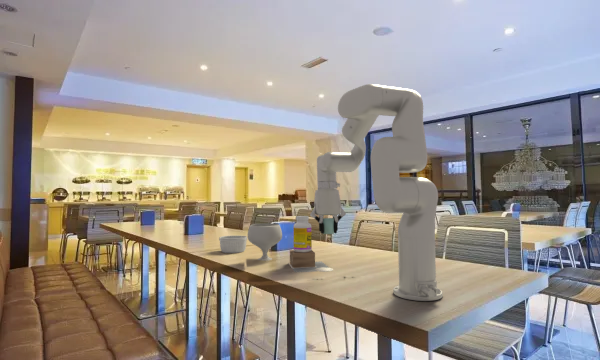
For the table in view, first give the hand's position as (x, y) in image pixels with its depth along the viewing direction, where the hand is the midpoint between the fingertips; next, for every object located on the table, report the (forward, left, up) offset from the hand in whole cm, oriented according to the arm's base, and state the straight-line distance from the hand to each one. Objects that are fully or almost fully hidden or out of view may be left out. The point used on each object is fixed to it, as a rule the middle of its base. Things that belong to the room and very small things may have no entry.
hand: (328, 232), depth 137 cm
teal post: (0, 0, 0) cm, 0 cm away
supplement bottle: (-6, +12, -6) cm, 15 cm away
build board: (-9, +10, -12) cm, 18 cm away
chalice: (+9, +24, -12) cm, 29 cm away
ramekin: (+39, +37, -12) cm, 55 cm away
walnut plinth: (-6, +12, -11) cm, 17 cm away
